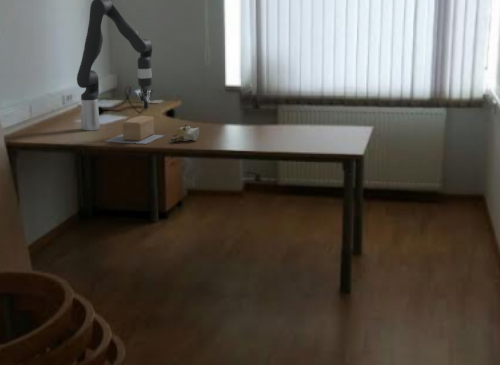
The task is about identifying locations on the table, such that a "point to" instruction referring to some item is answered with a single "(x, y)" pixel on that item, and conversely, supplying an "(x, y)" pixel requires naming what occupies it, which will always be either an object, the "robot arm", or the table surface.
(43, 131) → the table surface
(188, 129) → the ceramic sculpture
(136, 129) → the wooden block
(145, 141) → the mat
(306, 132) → the table surface
